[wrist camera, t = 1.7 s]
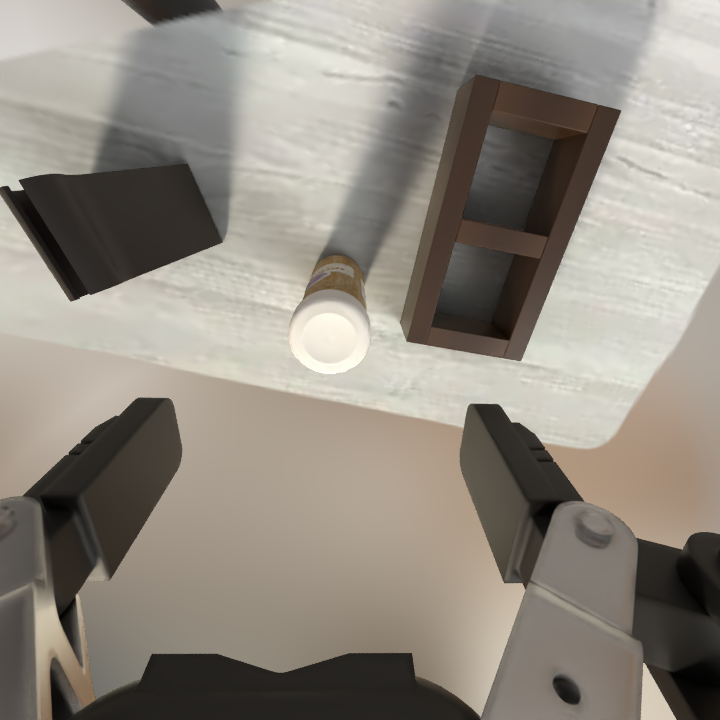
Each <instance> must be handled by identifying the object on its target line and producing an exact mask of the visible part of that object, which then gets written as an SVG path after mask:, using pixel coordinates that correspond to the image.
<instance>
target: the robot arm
mask: <svg viewBox="0 0 720 720" xmlns="http://www.w3.org/2000/svg"><path fill="white" fill-rule="evenodd" d="M181 457H182V444H181V439H180V434H179V429H178V424H177V419H176V414H175V410H174V405H173V402H172V401H171V399H169V398H137V399H136V400H135V401H133V402H132V403H131V404H130V405H129V406H128V407H127V408H126V409H125V411H123V412H122V413H121V414H120V415H119V416H115V417H113V418H111V419H109V420H107V421H106V422H104V423H102V424H100V425H98V426H97V427H95V428H94V429H93V430H92V431H91V432H90V433H89V434H88V435H87V436H86V437H84V438H83V439H82V440H81V443H80V444H77V445H76V446H75V447H74V448H73V449H72V450H71V451H70V452H69V455H66V456H64V457H63V458H62V459H61V460H60V461H59V462H58V463H57V464H56V465H55V466H54V467H53V468H52V469H51V470H49V471H48V472H47V473H46V474H45V475H44V476H43V477H42V478H41V479H40V480H39V481H38V482H37V483H36V484H35V485H34V486H32V488H31V489H29V490H28V491H27V492H26V493H25V494H24V495H23V496H18V497H9V498H5V499H1V500H0V720H640V718H641V697H642V696H641V695H642V675H643V663H645V664H646V665H647V668H648V669H649V671H650V673H651V675H652V676H653V678H654V680H655V682H656V684H657V685H658V687H659V689H660V691H661V692H662V694H663V696H664V698H665V700H666V701H667V703H668V705H669V707H670V709H671V710H672V712H673V714H674V716H675V717H676V719H677V720H720V534H715V533H709V532H700V533H695V534H693V535H691V536H690V537H689V539H688V540H687V542H686V544H685V546H684V548H683V550H681V549H677V548H673V547H669V546H666V545H662V544H658V543H654V542H650V541H646V540H642V539H639V538H636V537H635V536H634V534H633V532H632V531H631V529H630V528H629V527H628V526H627V525H626V524H625V523H624V522H623V521H622V520H621V519H619V518H618V517H617V516H615V515H614V514H612V513H610V512H609V511H607V510H605V509H603V508H601V507H599V506H596V505H593V504H590V503H586V502H584V500H583V499H582V498H581V496H580V495H579V494H578V492H577V491H576V489H575V488H574V487H573V485H572V484H571V483H570V481H569V480H568V478H567V477H566V476H565V474H564V473H563V472H562V470H561V469H560V468H559V466H558V465H557V464H556V462H553V458H552V457H551V455H550V454H549V453H548V451H546V450H545V447H544V446H543V445H542V443H541V442H540V440H539V439H538V438H537V436H536V435H535V434H534V433H532V432H531V431H530V430H528V429H527V428H526V427H524V426H523V425H521V424H520V423H512V422H511V421H510V419H509V418H508V416H507V415H506V413H505V412H504V410H503V409H502V408H501V406H500V405H498V404H470V405H469V406H468V409H467V413H466V419H465V425H464V431H463V437H462V443H461V448H460V466H461V471H462V474H463V477H464V480H465V482H466V485H467V487H468V490H469V493H470V495H471V497H472V501H473V503H474V506H475V508H476V511H477V514H478V516H479V519H480V521H481V524H482V527H483V529H484V532H485V534H486V537H487V540H488V542H489V545H490V547H491V550H492V553H493V555H494V558H495V561H496V563H497V566H498V568H499V571H500V573H501V576H502V579H503V581H504V583H523V585H524V587H525V590H526V591H525V594H524V596H523V600H522V602H521V605H520V608H519V611H518V613H517V616H516V619H515V622H514V625H513V628H512V631H511V634H510V636H509V639H508V642H507V645H506V648H505V650H504V653H503V656H502V659H501V662H500V665H499V668H498V671H497V674H496V676H495V679H494V682H493V685H492V688H491V690H490V693H489V696H488V699H487V702H486V705H485V707H484V710H483V713H482V716H481V717H480V716H479V715H478V714H477V713H476V712H475V711H474V710H473V709H472V708H471V707H469V706H468V705H467V704H465V703H464V702H463V701H462V700H460V699H459V698H458V697H457V696H455V695H454V694H452V693H450V692H449V691H447V690H445V689H444V688H442V687H441V686H439V685H437V684H434V683H432V682H430V681H428V680H426V679H423V678H420V677H417V676H415V673H414V665H413V657H412V653H349V654H346V655H342V656H339V657H335V658H333V659H329V660H326V661H322V662H319V663H315V664H312V665H309V666H305V667H302V668H299V669H296V670H292V671H289V672H285V673H276V672H272V671H269V670H266V669H263V668H260V667H256V666H253V665H250V664H247V663H244V662H241V661H238V660H234V659H231V658H228V657H225V656H222V655H219V654H152V655H151V657H150V660H149V662H148V664H147V667H146V669H145V671H144V674H143V676H142V678H141V680H137V681H134V682H132V683H129V684H127V685H124V686H122V687H120V688H117V689H115V690H113V691H111V692H109V693H107V694H106V695H104V696H102V697H100V698H98V699H96V697H95V694H94V690H93V686H92V681H91V675H90V667H89V660H88V653H87V646H86V638H85V630H84V623H83V615H82V608H81V602H80V598H79V596H78V591H79V590H80V589H81V587H82V585H83V584H84V583H85V581H86V580H87V581H89V580H91V581H103V580H104V581H106V580H107V581H109V580H110V579H111V578H112V576H113V574H114V573H115V571H116V570H117V568H118V566H119V565H120V563H121V561H122V560H123V558H124V556H125V555H126V553H127V551H128V550H129V548H130V547H131V545H132V543H133V542H134V540H135V539H136V537H137V535H138V534H139V532H140V530H141V529H142V527H143V525H144V524H145V522H146V521H147V519H148V517H149V516H150V514H151V512H152V511H153V509H154V507H155V506H156V504H157V503H158V501H159V499H160V498H161V496H162V494H163V493H164V491H165V490H166V488H167V486H168V485H169V483H170V481H171V480H172V478H173V476H174V475H175V473H176V472H177V470H178V468H179V465H180V462H181Z"/></svg>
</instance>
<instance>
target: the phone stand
mask: <svg viewBox="0 0 720 720" xmlns="http://www.w3.org/2000/svg"><path fill="white" fill-rule="evenodd" d="M19 182H20V184H21V185H22V187H23V188H24V190H21V191H11V190H10V188H9V186H3V187H1V188H0V195H1V196H2V198H3V199H4V201H5V202H6V204H7V205H8V207H9V208H10V210H11V211H12V213H13V215H14V216H15V218H16V219H17V221H18V222H19V224H20V225H21V227H22V228H23V230H24V231H25V233H26V234H27V236H28V237H29V239H30V241H31V242H32V244H33V245H34V247H35V248H36V250H37V251H38V253H39V254H40V256H41V257H42V259H43V260H44V262H45V264H46V265H47V267H48V268H49V270H50V271H51V273H52V274H53V276H54V277H55V279H56V280H57V282H58V283H59V285H60V286H61V288H62V290H63V291H64V293H65V294H66V296H67V297H68V299H69V300H70V301H74V300H77V299H80V297H82V296H84V295H87V294H90V295H92V294H95V293H97V292H100V291H103V290H105V289H108V288H111V287H113V286H116V285H118V284H121V283H123V282H125V281H127V280H130V279H132V278H134V277H137V276H139V275H142V274H144V273H147V272H149V271H152V270H155V269H157V268H160V267H162V266H165V265H167V264H170V263H172V262H175V261H177V260H180V259H182V258H185V257H187V256H190V255H192V254H195V253H197V252H200V251H202V250H205V249H208V248H210V247H213V246H215V245H218V244H220V243H223V241H222V239H221V237H220V235H219V232H218V230H217V228H216V226H215V224H214V221H213V219H212V217H211V215H210V212H209V210H208V208H207V206H206V204H205V201H204V199H203V197H202V195H201V192H200V190H199V188H198V186H197V184H196V181H195V179H194V177H193V175H192V172H191V170H190V168H189V166H188V164H181V165H171V166H161V167H151V168H141V169H132V170H122V171H112V172H102V173H92V174H82V175H63V174H47V175H39V176H34V177H29V178H25V179H21V180H19Z"/></svg>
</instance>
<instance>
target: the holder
mask: <svg viewBox="0 0 720 720" xmlns="http://www.w3.org/2000/svg"><path fill="white" fill-rule="evenodd" d="M620 113H621V110H618V109H613V108H609V107H605V106H601V105H597V104H594V103H589V102H585V101H581V100H577V99H573V98H569V97H565V96H561V95H557V94H553V93H549V92H545V91H541V90H537V89H533V88H529V87H525V86H521V85H517V84H513V83H508V82H504V81H500V80H496V79H492V78H488V77H484V76H480V75H475V76H474V77H473V78H472V79H471V80H469V81H468V82H467V83H466V84H465V85H464V86H463V87H461V88H460V89H459V90H458V91H457V95H456V99H455V103H454V107H453V111H452V115H451V119H450V123H449V127H448V131H447V135H446V139H445V143H444V147H443V151H442V156H441V160H440V164H439V168H438V172H437V176H436V180H435V184H434V188H433V192H432V196H431V200H430V204H429V208H428V212H427V216H426V220H425V224H424V228H423V232H422V236H421V240H420V245H419V249H418V253H417V257H416V261H415V265H414V269H413V273H412V277H411V281H410V285H409V289H408V293H407V297H406V301H405V305H404V309H403V313H402V317H401V321H400V324H401V327H402V330H403V333H404V335H405V338H406V341H407V342H412V343H418V344H424V345H429V346H435V347H441V348H447V349H452V350H458V351H464V352H470V353H475V354H481V355H487V356H493V357H499V358H505V359H511V360H517V361H521V360H522V357H523V355H524V352H525V350H526V347H527V345H528V342H529V340H530V337H531V335H532V332H533V330H534V327H535V325H536V322H537V320H538V317H539V315H540V312H541V310H542V307H543V305H544V302H545V300H546V297H547V295H548V292H549V290H550V287H551V285H552V282H553V280H554V277H555V275H556V272H557V270H558V267H559V265H560V262H561V260H562V257H563V255H564V252H565V250H566V247H567V245H568V242H569V240H570V237H571V235H572V232H573V230H574V227H575V225H576V222H577V220H578V217H579V215H580V212H581V210H582V208H583V205H584V203H585V200H586V198H587V195H588V193H589V190H590V188H591V185H592V183H593V180H594V178H595V175H596V173H597V170H598V168H599V165H600V163H601V160H602V158H603V155H604V153H605V150H606V148H607V145H608V143H609V140H610V138H611V135H612V133H613V130H614V128H615V125H616V123H617V120H618V118H619V115H620ZM488 125H491V126H495V127H499V128H503V129H508V130H512V131H516V132H521V133H525V134H529V135H533V136H538V137H542V138H546V139H550V140H555V141H554V144H553V147H552V150H551V153H550V156H549V159H548V161H547V164H546V167H545V170H544V173H543V176H542V179H541V181H540V184H539V187H538V190H537V193H536V196H535V199H534V202H533V204H532V207H531V210H530V213H529V216H528V219H527V222H526V224H525V227H524V230H521V229H517V228H512V227H507V226H502V225H497V224H493V223H488V222H483V221H478V220H473V219H469V218H464V217H462V215H463V211H464V208H465V204H466V201H467V197H468V194H469V190H470V187H471V183H472V180H473V176H474V172H475V169H476V165H477V162H478V158H479V155H480V151H481V148H482V144H483V141H484V137H485V134H486V130H487V127H488ZM455 242H459V243H464V244H469V245H474V246H479V247H483V248H488V249H493V250H498V251H503V252H508V253H513V254H515V256H514V259H513V262H512V264H511V267H510V270H509V273H508V276H507V279H506V282H505V284H504V287H503V290H502V293H501V296H500V299H499V302H498V304H497V307H496V310H495V313H494V316H493V319H492V322H486V321H481V320H475V319H470V318H464V317H459V316H453V315H448V314H442V313H437V312H435V310H436V307H437V303H438V300H439V296H440V293H441V289H442V285H443V282H444V278H445V275H446V271H447V268H448V264H449V261H450V257H451V254H452V250H453V247H454V243H455Z"/></svg>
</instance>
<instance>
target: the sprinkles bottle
mask: <svg viewBox="0 0 720 720" xmlns="http://www.w3.org/2000/svg"><path fill="white" fill-rule="evenodd" d="M288 337H289V343H290V346H291V349H292V351H293V353H294V354H295V356H296V357H297V359H298V360H299V361H300V362H301V363H302V364H304V365H305V366H306V367H308V368H310V369H312V370H314V371H317V372H320V373H325V374H335V373H341V372H344V371H347V370H349V369H351V368H353V367H354V366H356V365H357V364H358V363H359V362H360V361H361V360H362V359H363V358H364V356H365V355H366V353H367V351H368V348H369V345H370V340H371V328H370V320H369V317H368V314H367V307H366V298H365V290H364V279H363V274H362V271H361V269H360V267H359V266H358V264H357V263H356V262H354V261H353V260H352V259H350V258H348V257H345V256H342V255H333V256H329V257H326V258H324V259H322V260H321V261H320V262H318V264H317V265H316V266H315V268H314V270H313V273H312V276H311V279H310V281H309V283H308V286H307V288H306V291H305V295H304V297H303V300H302V301H301V302H300V304H299V305H298V306H297V308H296V310H295V312H294V314H293V316H292V319H291V322H290V325H289V330H288Z"/></svg>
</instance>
